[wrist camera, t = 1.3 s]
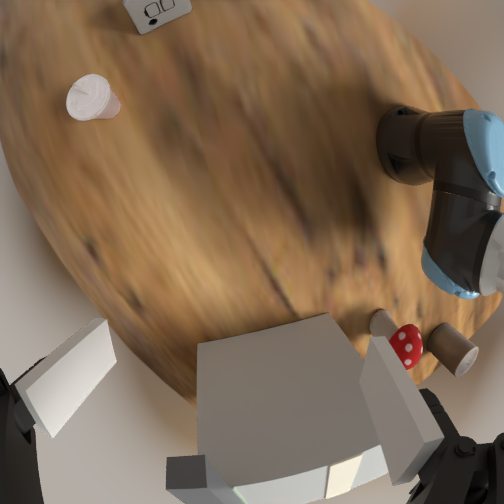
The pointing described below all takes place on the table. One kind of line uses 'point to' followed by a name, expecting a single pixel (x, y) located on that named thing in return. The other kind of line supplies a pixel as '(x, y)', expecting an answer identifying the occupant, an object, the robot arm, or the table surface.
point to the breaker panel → (286, 413)
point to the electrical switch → (155, 12)
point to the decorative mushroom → (398, 337)
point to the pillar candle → (452, 349)
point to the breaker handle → (197, 481)
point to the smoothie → (92, 99)
